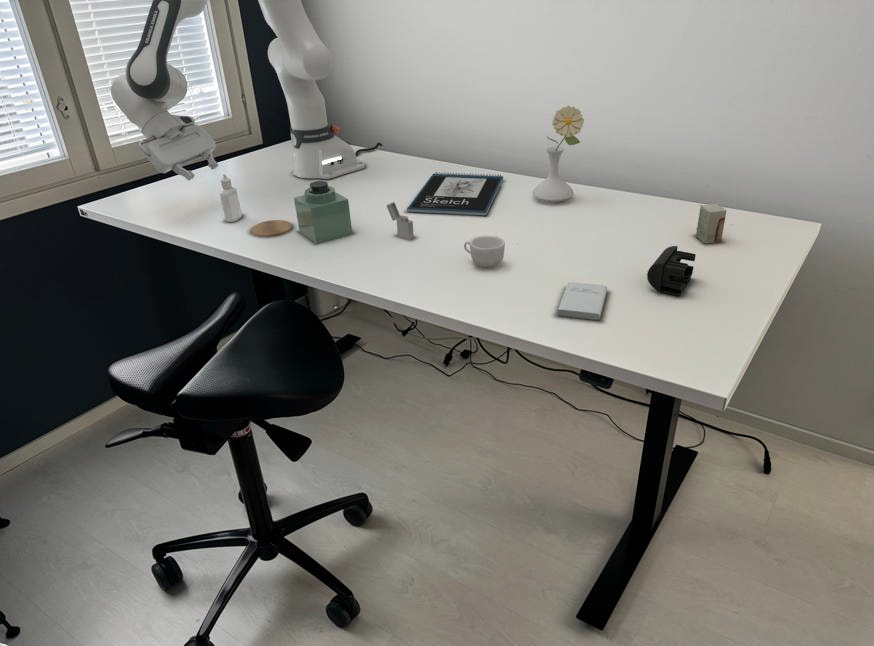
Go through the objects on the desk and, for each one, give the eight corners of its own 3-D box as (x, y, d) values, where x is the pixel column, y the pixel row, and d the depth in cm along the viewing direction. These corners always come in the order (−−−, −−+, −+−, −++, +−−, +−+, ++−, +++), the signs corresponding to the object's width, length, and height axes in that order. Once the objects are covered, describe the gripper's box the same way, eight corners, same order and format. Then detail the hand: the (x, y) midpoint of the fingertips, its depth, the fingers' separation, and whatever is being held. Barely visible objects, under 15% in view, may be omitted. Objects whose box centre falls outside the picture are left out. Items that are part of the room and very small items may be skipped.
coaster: (282, 219, 180) (282, 217, 180) (297, 230, 173) (297, 228, 173) (246, 228, 175) (245, 226, 175) (260, 240, 169) (260, 237, 168)
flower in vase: (526, 203, 185) (529, 108, 172) (538, 190, 194) (542, 99, 180) (573, 208, 181) (579, 111, 167) (583, 194, 190) (590, 101, 176)
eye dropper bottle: (247, 217, 182) (238, 173, 176) (229, 223, 179) (219, 178, 172) (238, 213, 185) (228, 170, 178) (220, 220, 181) (210, 175, 175)
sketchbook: (407, 213, 182) (406, 205, 181) (434, 177, 207) (433, 171, 206) (486, 216, 178) (486, 208, 177) (503, 180, 203) (503, 173, 202)
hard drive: (557, 316, 132) (567, 288, 142) (599, 321, 130) (606, 292, 140) (557, 308, 131) (567, 281, 141) (600, 313, 129) (607, 285, 139)
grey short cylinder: (324, 187, 168) (322, 179, 167) (331, 192, 165) (330, 184, 164) (307, 191, 166) (306, 183, 165) (315, 196, 163) (314, 188, 162)
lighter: (414, 237, 167) (412, 206, 163) (409, 239, 166) (407, 208, 162) (393, 231, 171) (390, 200, 167) (388, 233, 170) (385, 202, 166)
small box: (721, 242, 160) (727, 210, 155) (704, 244, 159) (710, 212, 155) (711, 234, 164) (717, 203, 159) (694, 236, 163) (700, 204, 159)
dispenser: (334, 222, 177) (329, 181, 171) (352, 233, 170) (347, 191, 164) (299, 231, 173) (292, 189, 167) (316, 243, 166) (309, 200, 160)
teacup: (510, 261, 154) (511, 239, 151) (494, 274, 148) (493, 251, 146) (473, 252, 158) (472, 231, 156) (455, 265, 153) (454, 243, 150)
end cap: (659, 272, 147) (663, 243, 144) (692, 278, 144) (697, 249, 140) (644, 290, 140) (648, 260, 136) (678, 298, 137) (683, 267, 133)
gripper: (139, 134, 165) (181, 177, 167) (195, 114, 181) (233, 154, 183) (130, 151, 169) (171, 193, 171) (186, 130, 185) (223, 169, 187)
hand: (204, 172), depth 177 cm, fingers open, 8 cm apart
